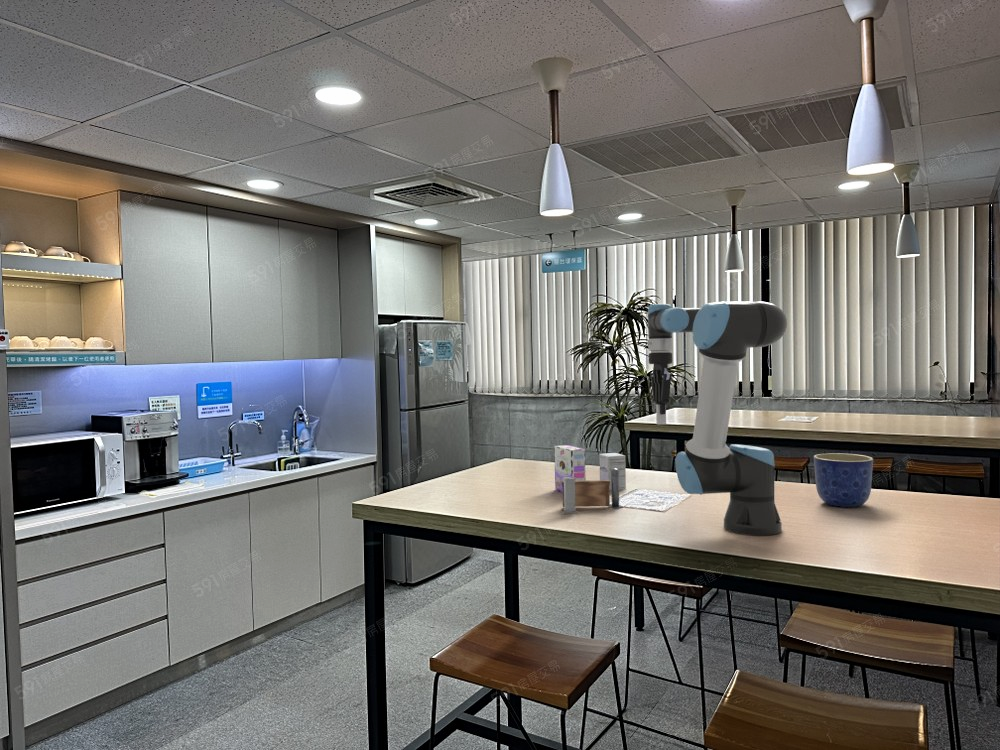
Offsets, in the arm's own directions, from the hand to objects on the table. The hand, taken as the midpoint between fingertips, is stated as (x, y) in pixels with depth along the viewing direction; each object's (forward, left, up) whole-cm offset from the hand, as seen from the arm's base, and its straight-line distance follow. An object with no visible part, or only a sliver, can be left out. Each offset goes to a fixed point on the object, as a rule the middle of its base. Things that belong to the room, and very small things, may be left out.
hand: (661, 424), depth 221 cm
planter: (-14, -55, -27) cm, 63 cm away
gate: (+2, +25, -26) cm, 36 cm away
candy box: (+27, +24, -27) cm, 45 cm away
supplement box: (+30, +7, -27) cm, 41 cm away
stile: (-3, +32, -26) cm, 42 cm away
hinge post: (0, +16, -26) cm, 31 cm away
